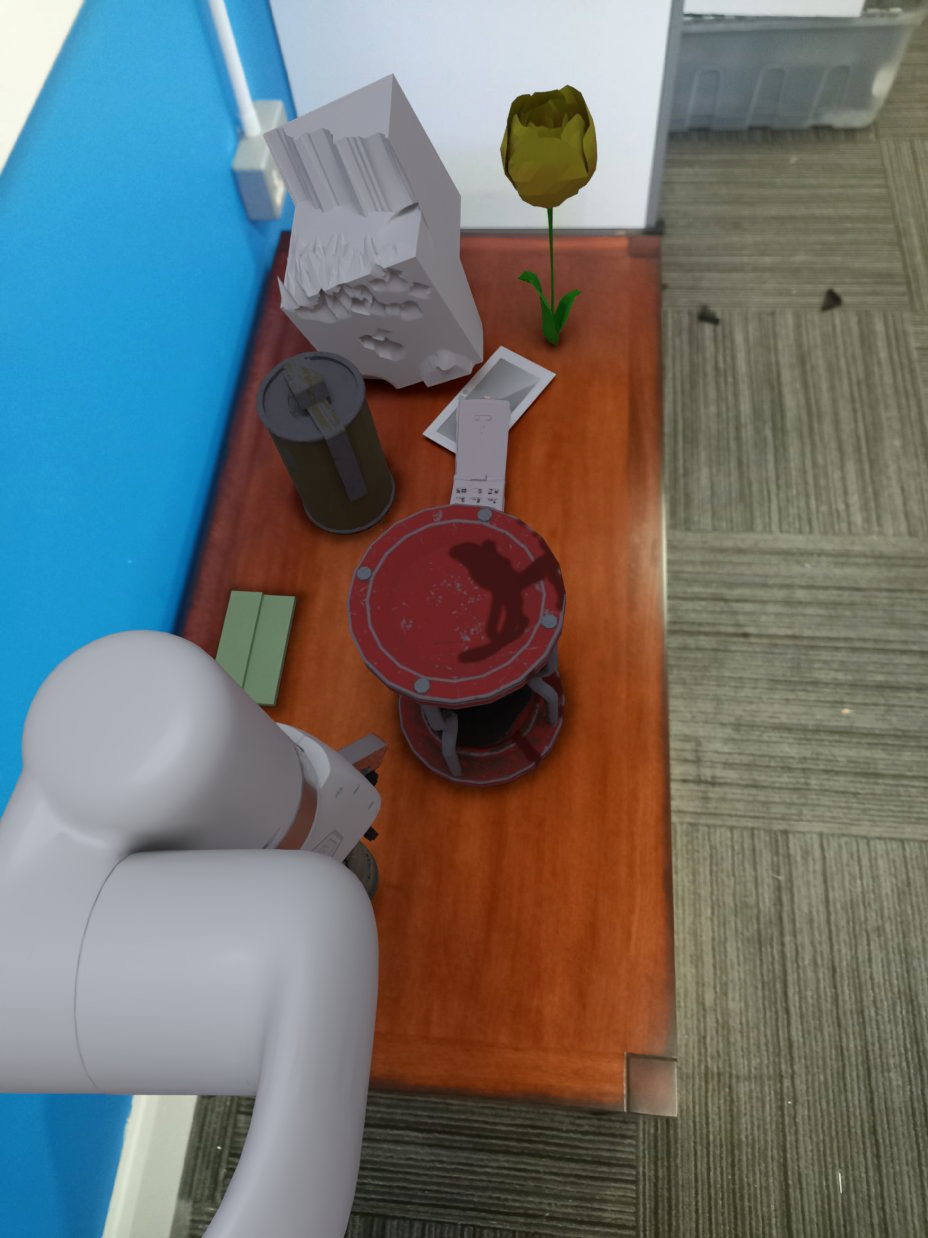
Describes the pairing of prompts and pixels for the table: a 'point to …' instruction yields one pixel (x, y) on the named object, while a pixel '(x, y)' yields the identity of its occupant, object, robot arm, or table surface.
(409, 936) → the table surface
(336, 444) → the canister
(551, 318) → the flower
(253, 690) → the towel
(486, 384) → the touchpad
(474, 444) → the mobile phone
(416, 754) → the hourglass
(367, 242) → the grey carved stone block
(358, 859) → the grey spiral shell
